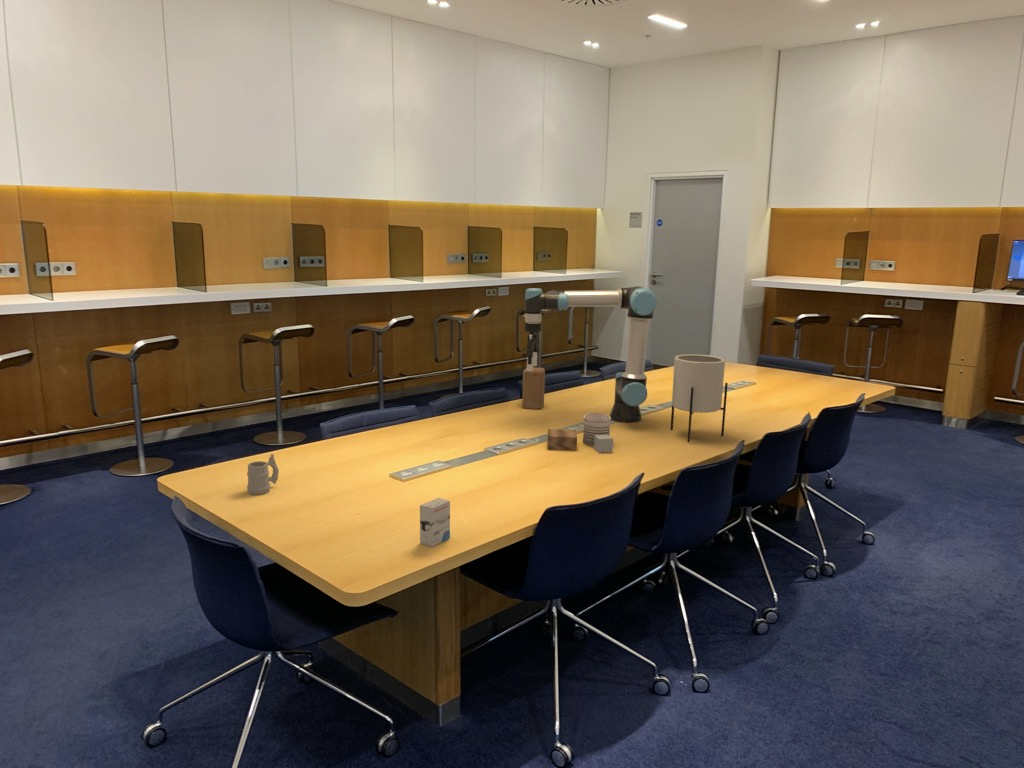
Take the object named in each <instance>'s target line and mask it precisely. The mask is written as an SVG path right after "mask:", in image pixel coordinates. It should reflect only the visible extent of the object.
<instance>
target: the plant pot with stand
mask: <svg viewBox="0 0 1024 768" xmlns="http://www.w3.org/2000/svg"><path fill="white" fill-rule="evenodd" d="M725 368H726V359H724V358H722V357H720V356H715V355H709V354H708V355H707V354H697V353H696V354H695V353H694V354H678V355H676V356H674V359H673V378H672V393H671V395H672V396H671V416H670V417H671V418H670V431H673V430H674V415H675V409H677V410H680V411H684V412H689V416H688V427H687V431H688V433H687V442H691V427H692V417H693V414H694V413H704V414H705V413H715V412H718V411H722V418H721V419H722V422H721V430H720V431H721V435H720V437H722V436H723V437H724V432H725V423H726V422H725V421H726V420H725V419H726V408H727V397H728V396H727V395H728V394H727V393H728V382H725V384H724V378H725ZM723 390H724V391H723ZM723 392H724V397H723ZM722 401H723V402H722ZM722 403H723V407H722Z"/></svg>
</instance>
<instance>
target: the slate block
mask: <svg viewBox="0 0 1024 768" xmlns="http://www.w3.org/2000/svg"><path fill="white" fill-rule="evenodd" d="M613 445H614V438H613V437H612V436H611V435H610V436H609V435H594V447H593V450H594V451H596V452H597V453H598V454H605V453H606V452H610V453H613V450H614V449H613V448H614V447H613Z"/></svg>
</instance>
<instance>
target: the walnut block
mask: <svg viewBox="0 0 1024 768" xmlns="http://www.w3.org/2000/svg"><path fill="white" fill-rule="evenodd" d="M577 449H578V434H577V429H566V428H565V429H564V428H563V429H560V428H548V429H547V450H548V451H572V452H573V451H574V452H576V451H577Z"/></svg>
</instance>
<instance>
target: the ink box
mask: <svg viewBox="0 0 1024 768" xmlns="http://www.w3.org/2000/svg"><path fill="white" fill-rule="evenodd" d="M450 538H451V501H450V500H448V499H445V498H444V499H443V498H440V497H437V498H436V497H435V499H432V500H430V501H427V502H424V503H423V504H419V544H422V545H425V546H428V547H431V548H433V547H435V546H437V545H439V544H440V543H442V542H444V541H446V540H448V539H450Z"/></svg>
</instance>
